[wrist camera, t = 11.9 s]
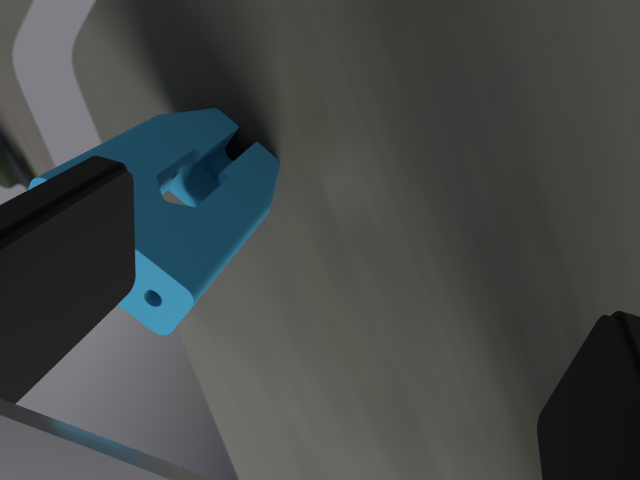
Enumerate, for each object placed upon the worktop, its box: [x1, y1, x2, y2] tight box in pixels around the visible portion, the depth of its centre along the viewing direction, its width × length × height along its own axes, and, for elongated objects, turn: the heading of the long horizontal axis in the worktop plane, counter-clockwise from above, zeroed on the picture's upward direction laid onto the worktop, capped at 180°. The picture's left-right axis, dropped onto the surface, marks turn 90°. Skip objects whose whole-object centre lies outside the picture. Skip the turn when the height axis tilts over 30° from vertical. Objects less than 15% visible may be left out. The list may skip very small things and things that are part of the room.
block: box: [27, 108, 280, 335], centre depth 40 cm, size 12×5×20 cm, turn 53°
